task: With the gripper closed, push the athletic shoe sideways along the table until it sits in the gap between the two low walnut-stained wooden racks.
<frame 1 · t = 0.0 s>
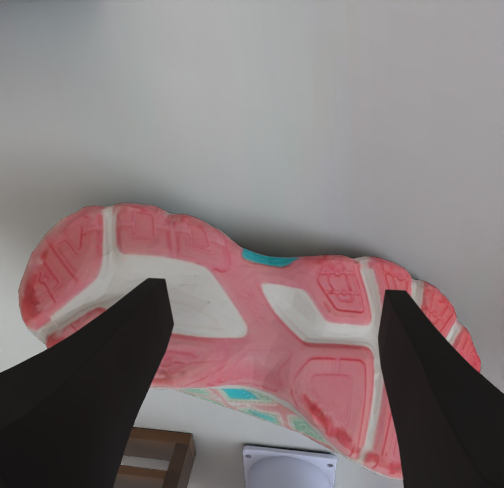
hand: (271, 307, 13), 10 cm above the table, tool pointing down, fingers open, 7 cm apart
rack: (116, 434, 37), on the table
athletic shoe: (289, 291, 26), on the table
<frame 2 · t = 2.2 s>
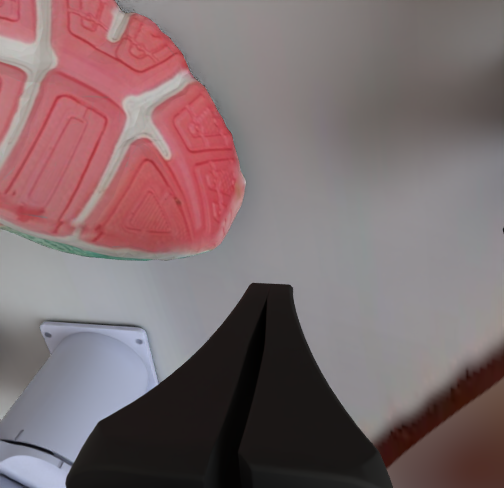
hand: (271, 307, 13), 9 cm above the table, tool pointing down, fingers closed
athletic shoe: (10, 69, 20), on the table
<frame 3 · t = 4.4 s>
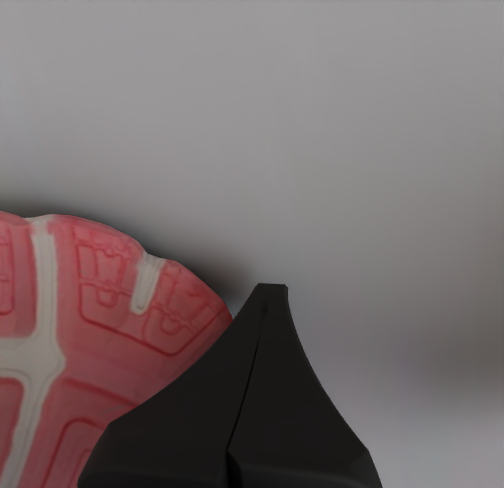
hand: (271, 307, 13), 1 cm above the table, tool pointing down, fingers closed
athletic shoe: (4, 280, 16), on the table, touching gripper
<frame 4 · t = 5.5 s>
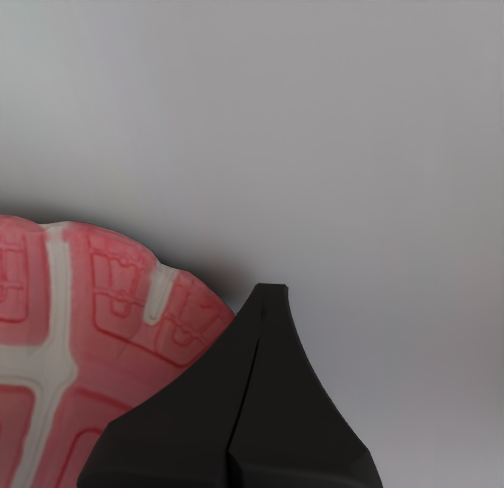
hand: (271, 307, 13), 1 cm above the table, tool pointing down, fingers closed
athletic shoe: (10, 281, 16), on the table, touching gripper
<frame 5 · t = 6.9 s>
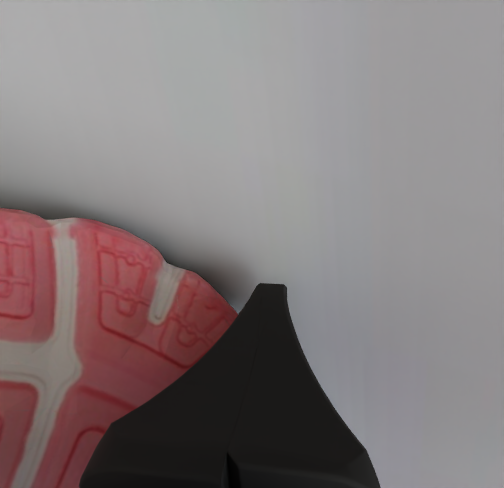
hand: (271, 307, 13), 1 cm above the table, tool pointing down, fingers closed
athletic shoe: (10, 274, 16), on the table, touching gripper
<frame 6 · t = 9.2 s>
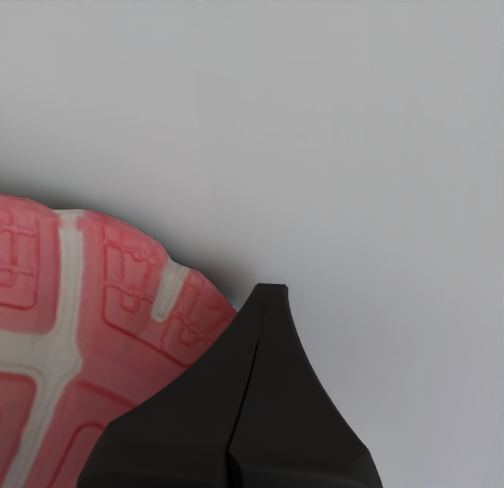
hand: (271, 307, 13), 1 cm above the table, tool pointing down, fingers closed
athletic shoe: (6, 261, 15), on the table, touching gripper
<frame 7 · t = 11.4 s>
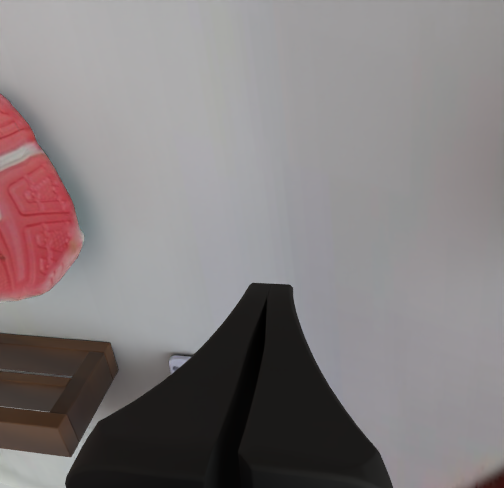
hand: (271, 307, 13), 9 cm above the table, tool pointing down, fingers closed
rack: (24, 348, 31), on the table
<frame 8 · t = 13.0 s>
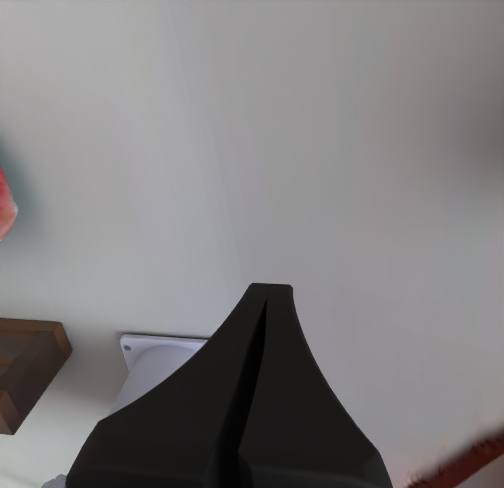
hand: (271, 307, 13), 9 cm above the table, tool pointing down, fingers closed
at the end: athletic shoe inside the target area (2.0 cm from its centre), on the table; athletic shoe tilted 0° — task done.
